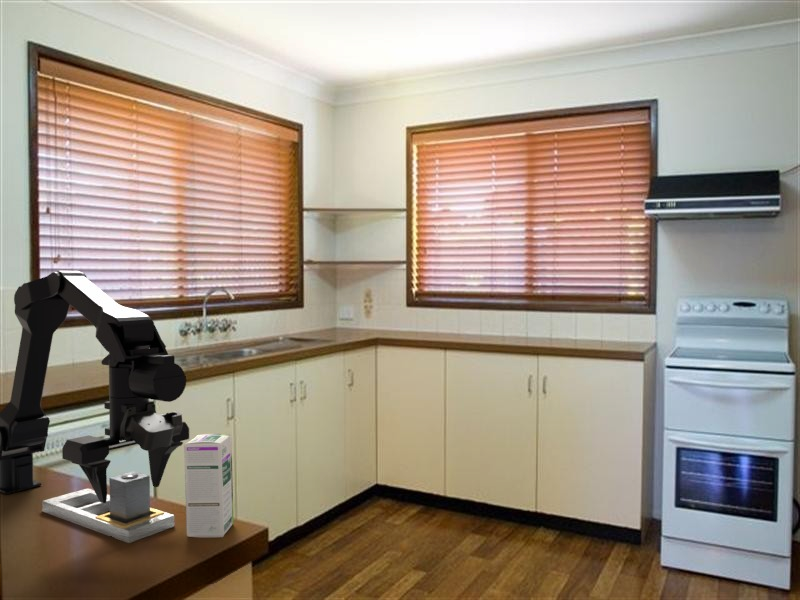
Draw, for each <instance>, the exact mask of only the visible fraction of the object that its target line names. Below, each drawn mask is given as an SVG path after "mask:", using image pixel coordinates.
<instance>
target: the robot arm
mask: <svg viewBox="0 0 800 600" xmlns="http://www.w3.org/2000/svg"><path fill="white" fill-rule="evenodd" d="M13 295H14V296H13V303H14V315H15V316H16V318H17V320H18V322H19V324H20V326H21V336H20V340H19V341H20V342H19V347H18V353H17V354H18V355H17V359H16V365H15V371H14V377H13V383H12V389H11V396H10V400H9V402H8V403H7V404H6V405H5V407H3V409H2V410H1V411H0V493H2V494H5V495H8V494H13V493H16V492H20V491H24V490H29V489H32V488H36V487H39V486H42V485H43V484H42V481H38V480H35V479H34V454H35V453H39V452H41V453H42V452H44V451H45V448H46V444H47V443H46V442H47V438H48V437H49V433H48V432H49V425H50V423H51V420H50V418H49V416H47V414H46V413H45V412H44V409H43V408H42V405H41V404H42V399H43V394H44V393H43V392H44V387H45V382H46V376H47V371H48V365H49V359H50V354H51V348H52V342H53V337H54V334H55V332H56V331H57V330H58V329H59V327H60V326H62V324H63V323H64V322H65V321H66V320H67V317H68V313H69V310H70V307H72V308H74V309H75V310H76V312H78V313H80V315H82V317H84V318H85V319H86V320H88V321H89V322H90V323H91V324H92V326H93V327H94V328H95V338H96V340H97V341H98V342H99V343H100V344H101V345H102V347H103V349H104V350H105V351H106V352H107V353H108V354H107V355H106V356H105V357H104V358H103V359H102V360H101V365H102V366H108V395H109V397H108V398H109V399H108V400H109V401H104V402H103V403H104V405H103V406H104V409H105V410H109V413H108V414H109V427H105V428H104V435H105V436H108V437H106V438H103V437H102V438H101V437H97V436H94V435H93V436H92V435H84V436H83V435H82V436H80V437H75V438H70V439H67V440H66V441H65V442H64V444H63V446H62V449H61V451H62V452H61V453H62V454H61V455H62V459H63V460H66V461H70V462H71V463H72V464H75V465H78V466H79V467H80V469H81V471H83V472H84V474H85V476H86V478H87V479H88V481H89V484H90V485H91V487H92V490H94V491H95V493H96V495H97V497H98V499H99V501H100V502H101V503H106V500H107V494H108V485H107V484H108V481H107V479H108V478H107V469H108V467H109V466H110V463H111V462H112V461H111V460H109V459H106V458H107V457H108V456H109V454H110V451H113V450H117V449H121V448H125V447H130V446H135V445H139V447H140V448H141V450H144V451H147V453H148V454H147V455H148V464H149V472H150V480H151V483H152V486H153V487H154V488H159V487H160V484H161V482H162V478H163V476H164V473H165V470H166V467H167V464H168V462H169V460H170V457H171V455H172V453H174V451H175V450H177V449H178V447H181V446H182V445H184V441H187V440H189V439H190V427H189V426H188V424H187V423H186V421H183V415H182V414H181V413H180V412H179V411H178V410H173V411H169V412H166V413H162V414H161V413H160V414H158V413H157V411H156V404H155V401H159V402H166V403H167V402H169V403H172V402H174V401H176V400H178V399H179V398H180V397H181V396H182V394H183V393H184V391H185V389H186V386H187V376H186V374H185V371H184V369H183V368H182V367H181V365H178V364H177V363H176V362H175V355H173V354H169V352H168V350H167V349H166V347H167V345H166V344H165V343H164V341H163V340H162V338H161V336H160V333H159V331H158V329H157V327H156V325H155V322H154V320H153V319H152V317H151V316H149V315H148V314H146V313H144V312H142V311H139V310H138V309H134V308H131V307H127V306H123V305H121V304H119V303H117V302H116V301H115V300H114V299H113V298H111V297H110V296H109V295H108V294H106V293H105V292H104V291H103V290H102V289H100V288H99V287H98V286H97V285H96V284H94V282H92V281H90V280H89V279H88V277H87V275H86V273H85V272H82V271H79V270H56V271H54V272H51V273H49V274H48V275H46V276H44V277H40V278H37V279H35V280H30V281H28V282H24V283H22V284H21V285H19V286H18V287H17V290H15V293H14V294H13Z"/></svg>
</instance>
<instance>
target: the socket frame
mask: <svg viewBox="0 0 800 600" xmlns="http://www.w3.org/2000/svg"><path fill="white" fill-rule="evenodd" d="M41 506H42V507H41V508H42V512H43V513H46V514H48V515H51V516H54V517H56V518H59V519H62V520H64V521H68V522H70V523H73V524H76V525H79V526H82V527H83V528H87V529H89V530H91V531H95V532H97V533H99V534H103V535H105V536H108V537H110V536H112V537H111V538H113V537H114V539H116V540H119V541H122V542H124V543H127V544H131V543H133V542H136V541H139V540H141V539H142V540H143V538H148V537H150V536H152V535H155V534H158V533H160V532H163V531H166V530H169V529H171V528H174V527H175V515H174V514H172V513H169V512H167V511H163V510H159V509H156V508H152V507H150V515H149V516H146V517H143V518H140V519H137V520H134V521H131V522H128V523H122V522H119V521H116V520H113V519H110V494H108V493H107V500H106V503H101V502H100V501H99V499H98V497H97V495H96V493H95V491H94V489H93V488H89V487H87V488H84V489H80V490H77V491H73V492H72V491H71V492H69V493H66V494H63V495H62V494H61V495H59V496H55V497H51V498H48V499H44V500H42V504H41ZM108 511H109V512H108Z"/></svg>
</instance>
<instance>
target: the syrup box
mask: <svg viewBox="0 0 800 600" xmlns="http://www.w3.org/2000/svg"><path fill="white" fill-rule="evenodd" d="M183 445H184V446H183V447H184V452H183V453H184V479H185V480H184V481H185V485H184V486H185V491H184V492H185V517H186V518H185V519H186V520H185V522H186V537H190V538H223V537H224V536H225V534H226V533H227V532H228V531H229V530H230V528H231V527H232V526H233V524H234V523H235V522H234V520H235V519H234V518H235V517H234V489H233V488H234V486H233V485H234V484H233V483H234V482H233V453H232V452H233V451H232V450H233V449H232V448H233V447H232V435H231V434H227V433H203V434H197V435H195V437H194V438H192V439H190V440H189V441H187V442H186V443H183Z"/></svg>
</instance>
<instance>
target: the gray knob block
mask: <svg viewBox="0 0 800 600" xmlns="http://www.w3.org/2000/svg"><path fill="white" fill-rule="evenodd" d="M108 479H109V480H108V482H109V484H108V485H109V495H110V511H109V512H110V519H113V520H116V521H119V522H122V523H128V522H131V521H134V520H137V519H140V518H143V517H146V516H149V515H150V508H151V491H150V489H151V485H150V484H151V482H150V480H151V475H148V474H145V473H141V472H137V471H129V472H126V473H123V474H118V475H116V476H112V477H109V478H108Z"/></svg>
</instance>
